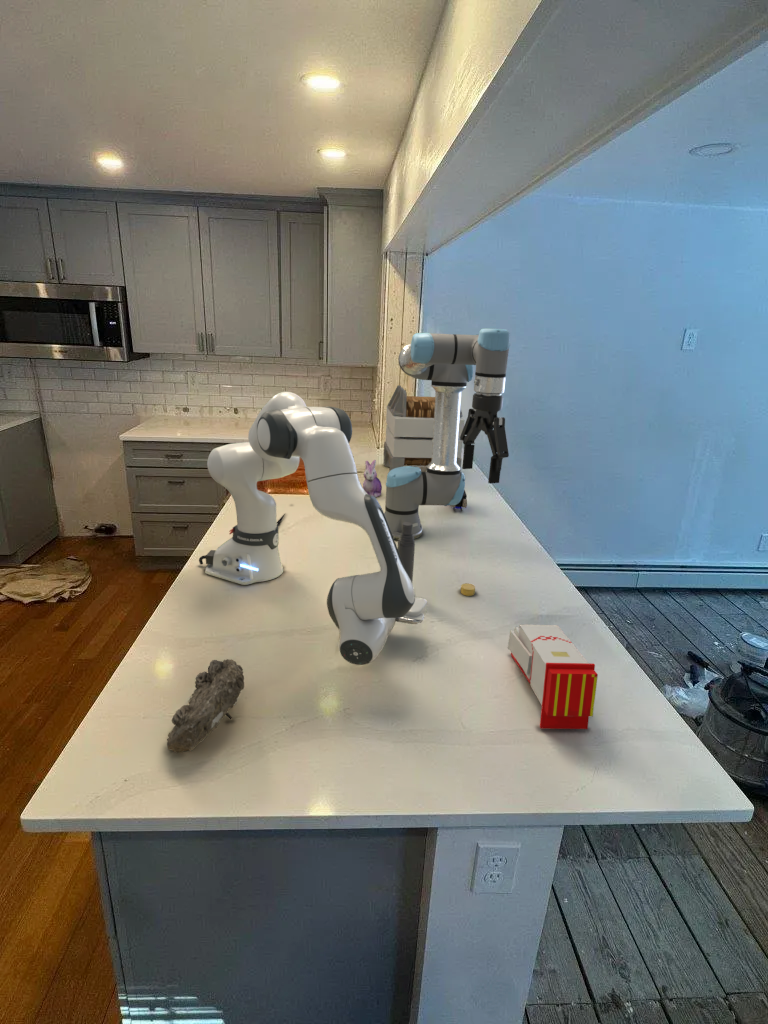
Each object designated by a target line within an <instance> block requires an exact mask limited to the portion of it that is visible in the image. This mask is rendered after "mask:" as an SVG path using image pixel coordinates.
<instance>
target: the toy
mask: <svg viewBox="0 0 768 1024" xmlns="http://www.w3.org/2000/svg"><path fill="white" fill-rule="evenodd" d="M507 649H508V650H509V652H510V656H511V658H512V659H513V661H514V662H515V664H516V665H517V666H518V668H519V670H520V672H521V673H522V675H523V676H524V677H525V679H526V681H527V682H528V684H529V686H530V688H531V690H532V691H533V693H534V694H535V696H536V699H537V700H538V702H539V703H540V705H541V709H540V720H539V728H540V729H541V730H542V729H545V730H546V729H550V730H551V729H553V730H556V729H557V730H588V728H589V720H590V719H589V718H590V717H593V716H594V710H595V709H594V708H595V701H596V692H597V686H598V685H597V683H598V673H597V671H596V664H595V663H589V662H588V661H587V660H586V659H587V658H585V657H584V655H582V653H581V652H580V651H579V649H578V648H577V647H576V646H575V644H574V643H573V642H572V641H571V639H570V638H569V637H568V636H567V634H565V632H564V631H563V630H562V628H561V627H560V626H559V625H558V624H556V625H555V624H518V626H514V630H509V635H508V643H507Z"/></svg>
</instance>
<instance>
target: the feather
mask: <svg viewBox="0 0 768 1024" xmlns="http://www.w3.org/2000/svg"><path fill="white" fill-rule="evenodd" d="M285 515H286V513H283V515H281V517H280V518H279V519H278V520H277V525H278V527H279V526H280V525H281V522H282V520H283V519H284V517H285Z"/></svg>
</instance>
